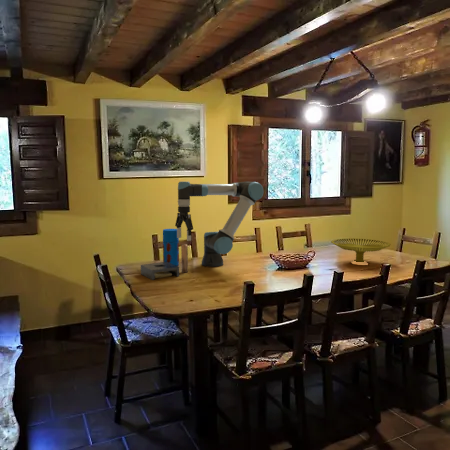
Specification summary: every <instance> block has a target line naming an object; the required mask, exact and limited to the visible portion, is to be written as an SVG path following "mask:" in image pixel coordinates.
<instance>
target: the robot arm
mask: <svg viewBox="0 0 450 450" xmlns="http://www.w3.org/2000/svg"><path fill="white" fill-rule="evenodd" d="M207 196H232V197H236V198H237V197H238V198H239V201H238V202H237V204H236V205H235V207H234V209H233V211H232V212H231V214H230V215H229V218H228V219H227V220H226V223H225V224H224V225H223V227H222V229H219V230H218V231H209V232H208V231H206V232H204V235H203V257H202V259H201V266H204V267H211V268H213V267H215V268H217V267H221V266H224V259H223V256H222V255H225V254H228V253H230V252H231V251H232V250H233V249H232V248H233V246H234V245H233V243H234V242H233V241H234V240H235V237H234V235H235V234H236V232H237V230H238V229H239V227H240V225H241V223H242V221H243V220H244V219H245V217H246V215H247V213H248V212H249V209H250V208H251V206H255V204H256V203H257V201H258V200H260V199H262V198H263V196H264V187H263V185H262V184H261V183H259V182H258V181H257V182H256V181H241V182H232V183H190V181H179V182H178V184H177V206H178V207H177V214H176V215H177V216H176V220H175V227H176V229H177V238H179V239H181V238H182V224H183V222H184V224H185V227H186V241H187V242H190V241H192V230H194V227H193V221H192V216H191V215H192V214H190V212H191V207H190V206H191V197H207Z"/></svg>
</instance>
